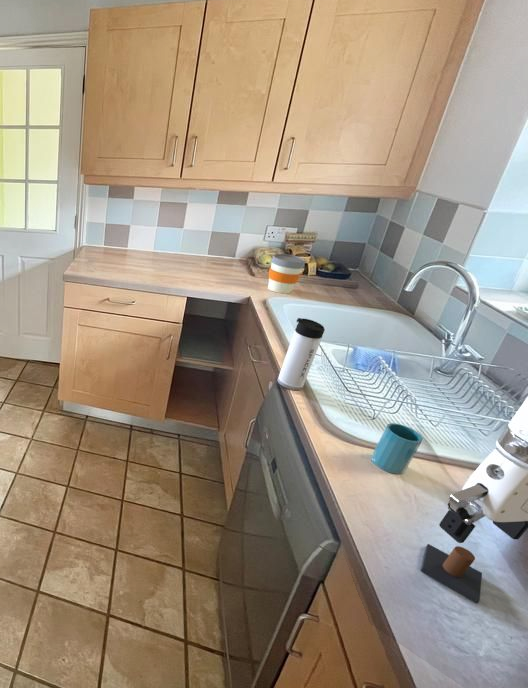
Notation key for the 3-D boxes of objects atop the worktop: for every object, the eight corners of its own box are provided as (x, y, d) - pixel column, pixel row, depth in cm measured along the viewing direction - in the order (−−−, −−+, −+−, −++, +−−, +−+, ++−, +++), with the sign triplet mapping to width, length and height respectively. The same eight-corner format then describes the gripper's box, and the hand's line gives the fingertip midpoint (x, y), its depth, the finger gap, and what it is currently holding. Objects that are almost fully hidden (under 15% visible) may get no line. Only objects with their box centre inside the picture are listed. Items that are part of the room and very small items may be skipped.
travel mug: (277, 375, 123) (298, 314, 114) (303, 383, 119) (326, 321, 111) (274, 384, 118) (296, 322, 110) (301, 393, 115) (326, 330, 106)
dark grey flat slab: (425, 546, 74) (439, 526, 72) (479, 575, 69) (495, 555, 67) (420, 571, 70) (434, 550, 67) (477, 604, 65) (494, 583, 63)
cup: (399, 459, 93) (416, 428, 89) (408, 478, 88) (427, 445, 84) (367, 451, 95) (383, 420, 91) (375, 468, 90) (392, 436, 87)
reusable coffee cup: (269, 282, 195) (279, 251, 188) (299, 290, 186) (310, 259, 180) (258, 288, 187) (268, 256, 181) (289, 297, 178) (300, 264, 172)
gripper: (518, 473, 54) (454, 559, 61) (629, 468, 56) (554, 552, 63) (457, 433, 61) (406, 514, 68) (557, 430, 62) (497, 509, 70)
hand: (477, 532), depth 65 cm, fingers open, 9 cm apart
